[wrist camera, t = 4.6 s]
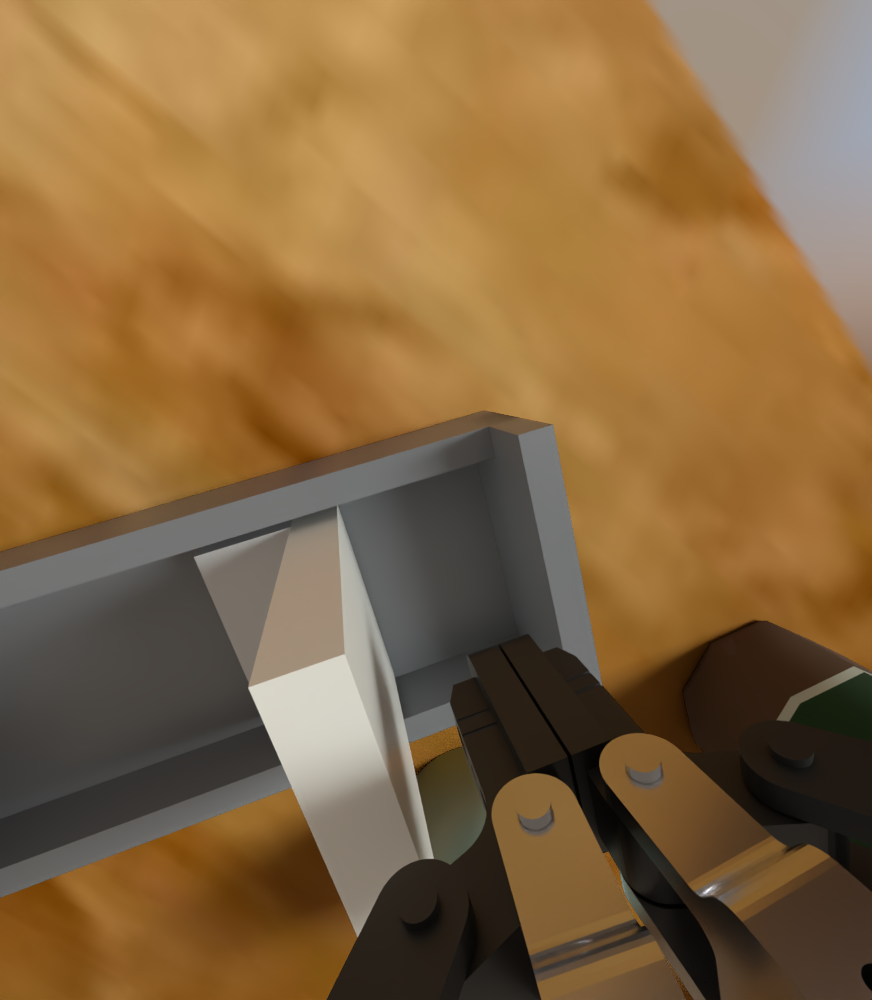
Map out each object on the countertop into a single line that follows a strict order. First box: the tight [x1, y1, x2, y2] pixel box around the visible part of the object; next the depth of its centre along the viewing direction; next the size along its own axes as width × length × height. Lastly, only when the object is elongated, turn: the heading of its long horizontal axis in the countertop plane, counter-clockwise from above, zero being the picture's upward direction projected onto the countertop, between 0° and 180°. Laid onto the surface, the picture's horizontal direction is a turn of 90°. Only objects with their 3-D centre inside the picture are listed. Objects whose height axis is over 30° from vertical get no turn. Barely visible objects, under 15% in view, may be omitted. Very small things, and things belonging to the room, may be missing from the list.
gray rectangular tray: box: [0, 411, 602, 898], centre depth 16 cm, size 22×10×6 cm, turn 105°
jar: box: [416, 747, 486, 865], centre depth 18 cm, size 6×6×10 cm
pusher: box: [194, 505, 434, 937], centre depth 13 cm, size 4×7×10 cm, turn 15°
